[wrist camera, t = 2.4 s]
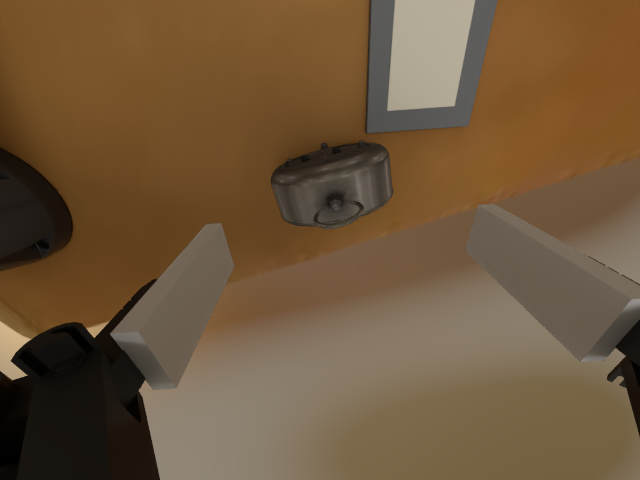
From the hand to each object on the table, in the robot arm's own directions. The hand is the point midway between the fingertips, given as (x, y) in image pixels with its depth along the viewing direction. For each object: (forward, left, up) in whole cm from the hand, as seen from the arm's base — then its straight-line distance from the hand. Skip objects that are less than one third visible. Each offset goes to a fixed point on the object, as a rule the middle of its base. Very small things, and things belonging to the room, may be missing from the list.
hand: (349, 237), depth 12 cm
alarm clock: (0, 0, -18) cm, 18 cm away
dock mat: (+10, +11, -18) cm, 23 cm away
